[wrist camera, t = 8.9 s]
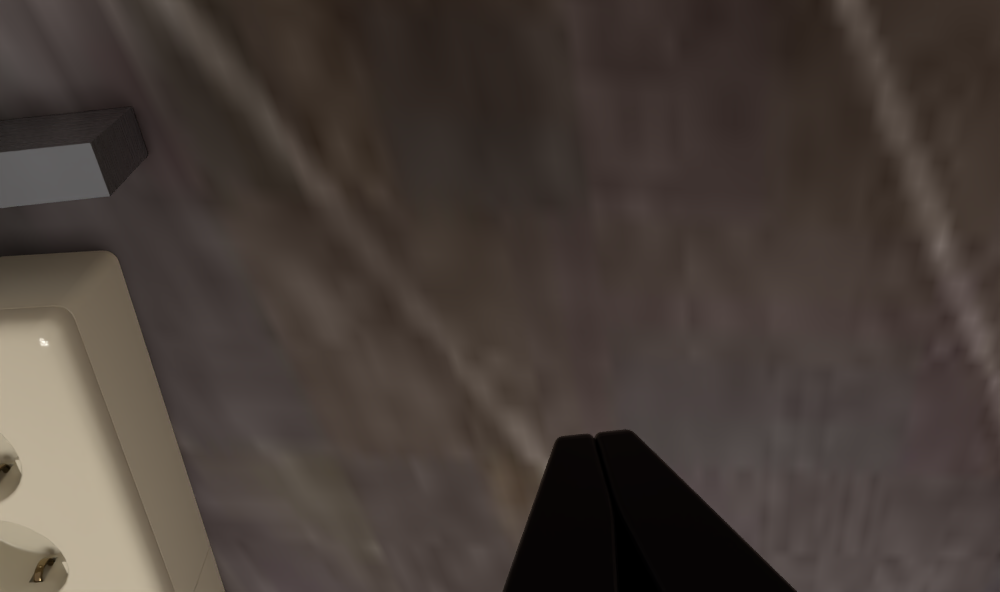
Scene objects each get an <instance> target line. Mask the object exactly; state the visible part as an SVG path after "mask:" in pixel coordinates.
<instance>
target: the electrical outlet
mask: <svg viewBox="0 0 1000 592" xmlns="http://www.w3.org/2000/svg"><path fill="white" fill-rule="evenodd" d="M0 592H225V590H224V587H223V584H222V580H221V577H220V574H219V571H218V568H217V565H216V562H215V559H214V556H213V553H212V549H211V546H210V543H209V540H208V537H207V534H206V531H205V528H204V525H203V521H202V518H201V515H200V512H199V509H198V506H197V503H196V500H195V497H194V494H193V490H192V487H191V484H190V481H189V478H188V475H187V472H186V469H185V466H184V463H183V459H182V456H181V453H180V450H179V447H178V444H177V441H176V438H175V435H174V431H173V428H172V425H171V422H170V419H169V416H168V413H167V410H166V407H165V404H164V400H163V397H162V394H161V391H160V388H159V385H158V382H157V379H156V376H155V372H154V369H153V366H152V363H151V360H150V357H149V354H148V351H147V348H146V345H145V341H144V338H143V335H142V332H141V329H140V326H139V323H138V320H137V317H136V313H135V310H134V307H133V304H132V301H131V298H130V295H129V292H128V289H127V286H126V282H125V279H124V276H123V273H122V270H121V267H120V264H119V261H118V259H117V257H116V256H115V255H114V254H112V253H111V252H108V251H102V250H101V251H84V252H68V253H51V254H35V255H19V256H2V257H0Z"/></svg>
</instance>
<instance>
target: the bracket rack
mask: <svg viewBox="0 0 1000 592" xmlns="http://www.w3.org/2000/svg"><path fill="white" fill-rule="evenodd" d="M147 156H148V153H147V150H146V147H145V144H144V141H143V138H142V135H141V132H140V129H139V126H138V123H137V120H136V117H135V114H134V111H133V108H132V107H124V108H114V109H105V110H96V111H87V112H78V113H68V114H59V115H50V116H41V117H31V118H22V119H13V120H4V121H0V208H6V207H15V206H24V205H33V204H43V203H52V202H61V201H70V200H80V199H89V198H98V197H107V196H111V195H112V194H113V192H114V191H115V190H116V189H117V188H118V187H119V186H120V185H121V184H122V183H123V182H124V181H125V180H126V179H127V177H128V176H129V175H130V174H131V173H132V172H133V171H134V170H135V169H136V168H137V167H138V166H139V165H140V163H141V162H142V161H143V160H144V159H145V158H146V157H147Z"/></svg>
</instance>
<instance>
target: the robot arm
mask: <svg viewBox="0 0 1000 592" xmlns="http://www.w3.org/2000/svg"><path fill="white" fill-rule="evenodd" d="M503 592H797V591H796V590H795V589H794V588H793V587H792V586H791V585H790V584H789V583H788V582H787V581H786V580H785V579H784V578H783V577H782V576H780V575H779V574H778V573H777V572H776V571H775V570H774V569H773V568H772V567H771V566H770V565H769V564H768V563H767V562H766V561H765V560H764V559H763V558H762V557H761V556H760V555H759V554H758V553H757V552H756V551H755V550H754V549H753V548H752V547H751V546H750V545H749V544H748V543H747V542H746V541H745V540H744V539H743V538H742V537H741V536H740V535H738V534H737V533H736V532H735V531H734V530H733V529H732V528H731V527H730V526H729V525H728V524H727V523H726V522H725V521H724V520H723V519H722V518H721V517H720V516H719V515H718V514H717V513H716V512H715V511H714V510H713V509H712V508H711V507H710V506H709V505H708V504H707V503H706V502H705V501H704V500H703V499H702V498H701V497H700V496H699V495H698V494H696V493H695V492H694V491H693V490H692V489H691V488H690V487H689V486H688V485H687V484H686V483H685V482H684V481H683V480H682V479H681V478H680V477H679V476H678V475H677V474H676V473H675V472H674V471H673V470H672V469H671V468H670V467H669V466H668V465H667V464H666V463H665V462H664V461H663V460H662V459H661V458H660V457H659V456H658V455H657V454H656V453H654V452H653V451H652V450H651V449H650V448H649V447H648V446H647V445H646V444H645V443H644V442H643V441H642V440H641V439H640V438H639V437H638V436H637V435H636V434H635V433H634V432H632V431H630V430H616V431H607V432H599V433H598V434H596V436H595V438H593V436H592V435H590V434H579V435H569V436H561V437H559V438H558V439H557V440H556V441H555V443H554V446H553V449H552V452H551V455H550V458H549V460H548V463H547V466H546V469H545V472H544V475H543V478H542V480H541V483H540V486H539V489H538V492H537V495H536V498H535V500H534V503H533V506H532V509H531V512H530V515H529V517H528V520H527V523H526V526H525V529H524V532H523V535H522V537H521V540H520V543H519V546H518V549H517V552H516V555H515V557H514V560H513V563H512V566H511V569H510V572H509V575H508V577H507V580H506V583H505V586H504V589H503Z"/></svg>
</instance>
